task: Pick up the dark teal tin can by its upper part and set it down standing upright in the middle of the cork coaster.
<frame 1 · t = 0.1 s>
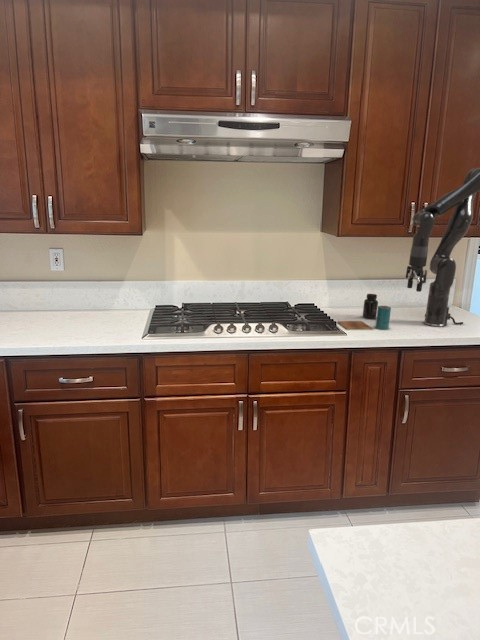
hand: (413, 289, 221), 17 cm above the table, tool pointing down, fingers open, 8 cm apart
cork coaster: (354, 325, 219), on the table
supplement bottle: (369, 318, 236), on the table
teal can: (382, 328, 217), on the table
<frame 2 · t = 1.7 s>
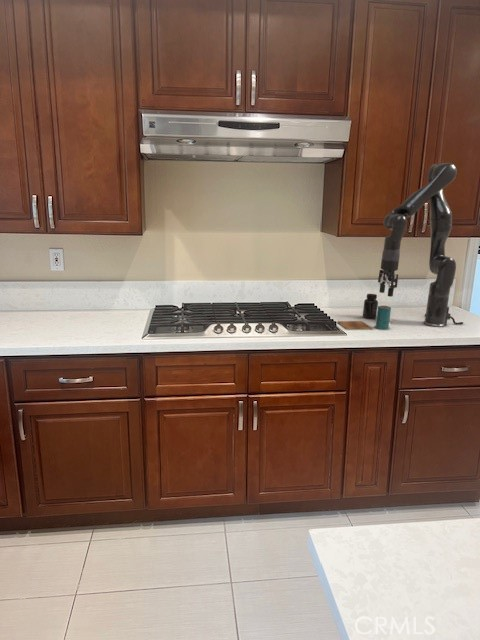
hand: (385, 294, 213), 16 cm above the table, tool pointing down, fingers open, 8 cm apart
nothing on the table moved.
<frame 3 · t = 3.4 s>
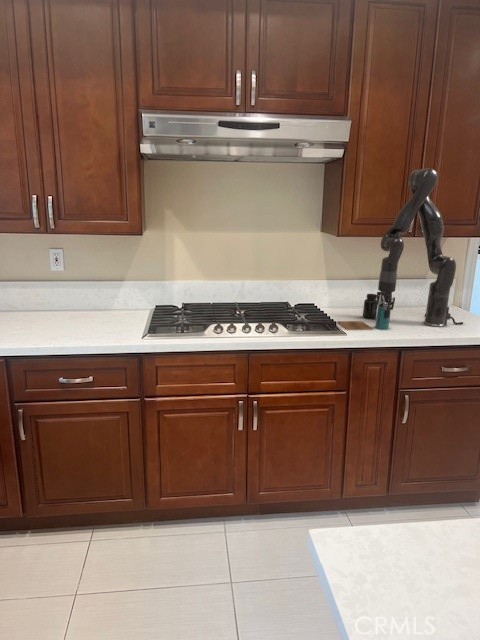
hand: (383, 316, 216), 6 cm above the table, tool pointing down, fingers closed on teal can, 6 cm apart
teal can: (382, 327, 217), on the table, touching gripper
everything else where it was.
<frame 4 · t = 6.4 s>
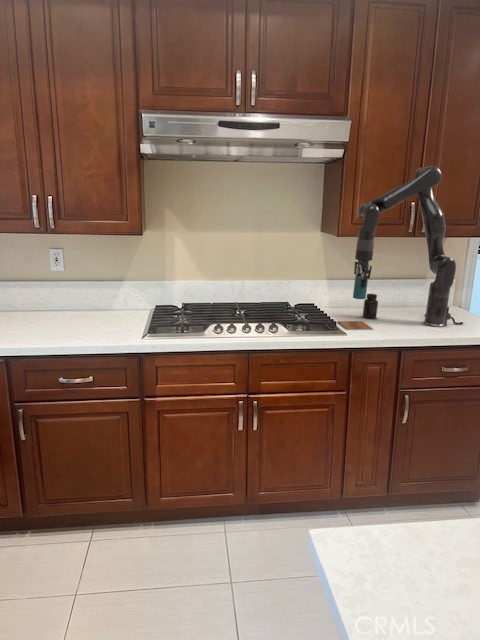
hand: (360, 285, 214), 19 cm above the table, tool pointing down, fingers closed on teal can, 5 cm apart
teal can: (359, 298, 216), point 13 cm above the table, touching gripper
everything else where it was.
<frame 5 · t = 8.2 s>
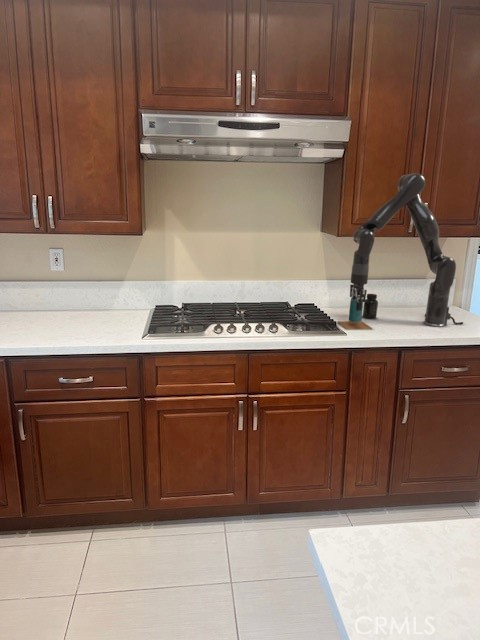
hand: (356, 308, 217), 8 cm above the table, tool pointing down, fingers closed on teal can, 5 cm apart
teal can: (354, 320, 219), point 3 cm above the table, touching gripper
everything else where it was.
when the fingers open (6 cm above the table, at t = 9.4 s): teal can stays where it is, resting on cork coaster.
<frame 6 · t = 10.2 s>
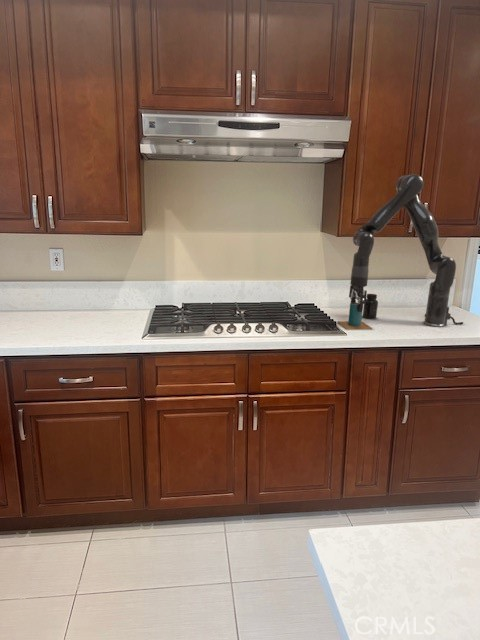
hand: (356, 309, 217), 8 cm above the table, tool pointing down, fingers open, 8 cm apart
teal can: (354, 324, 219), point 1 cm above the table, touching cork coaster
everything else where it was.
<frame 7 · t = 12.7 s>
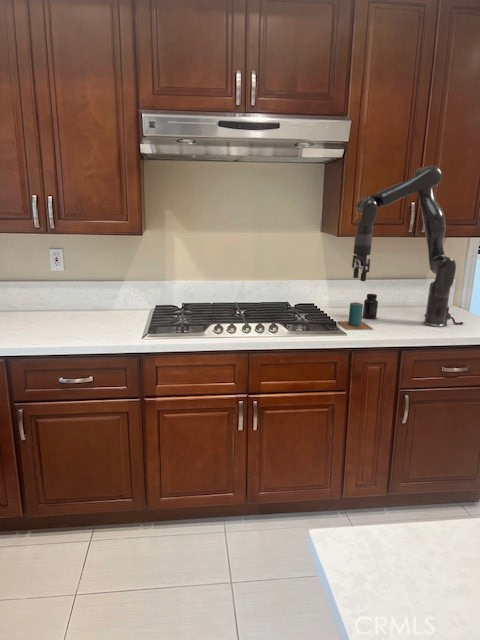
hand: (359, 279, 214), 22 cm above the table, tool pointing down, fingers open, 8 cm apart
nothing on the table moved.
at the end: teal can inside the target area on the cork coaster (0.0 cm from its centre), point 0.6 cm above the cork coaster's base; teal can tilted 0°; the gripper is holding nothing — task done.
